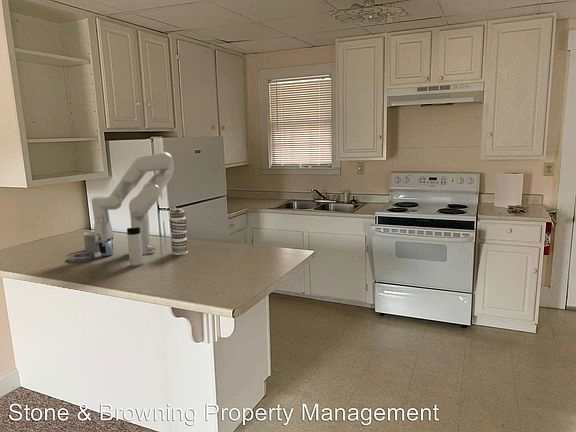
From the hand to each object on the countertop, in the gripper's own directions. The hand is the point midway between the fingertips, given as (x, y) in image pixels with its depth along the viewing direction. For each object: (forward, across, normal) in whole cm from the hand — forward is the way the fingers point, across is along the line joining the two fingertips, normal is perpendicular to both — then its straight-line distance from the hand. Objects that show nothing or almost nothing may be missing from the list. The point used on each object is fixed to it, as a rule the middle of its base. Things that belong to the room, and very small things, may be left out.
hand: (106, 251), depth 239 cm
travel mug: (+4, +14, +26) cm, 29 cm away
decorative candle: (+5, -11, +38) cm, 40 cm away
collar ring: (+2, +8, -10) cm, 13 cm away
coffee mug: (+3, -11, -14) cm, 18 cm away
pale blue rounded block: (+2, 0, 0) cm, 2 cm away
